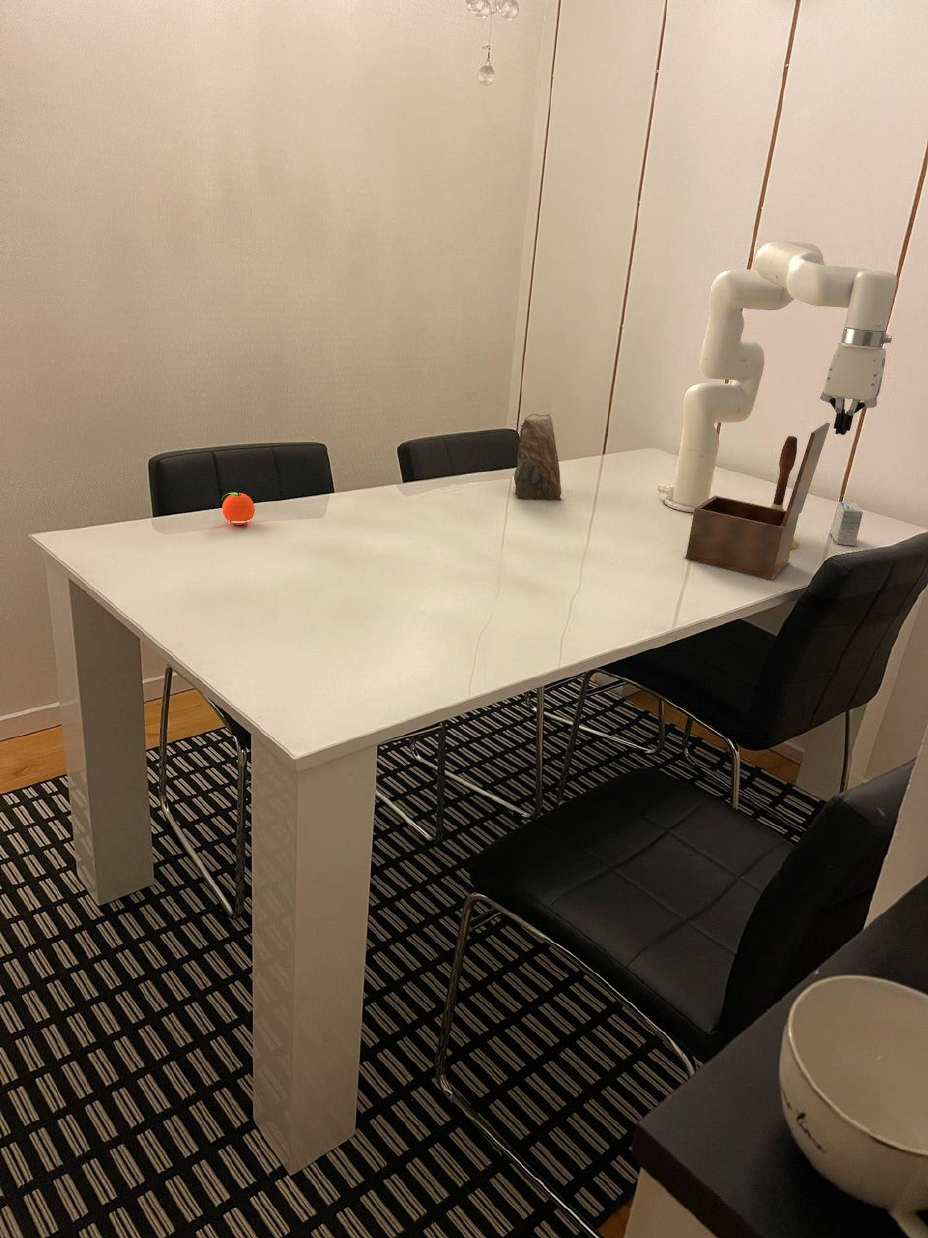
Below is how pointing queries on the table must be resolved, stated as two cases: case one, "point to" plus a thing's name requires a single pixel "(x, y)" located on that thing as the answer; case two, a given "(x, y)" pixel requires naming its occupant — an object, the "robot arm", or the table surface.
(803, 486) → the lid
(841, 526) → the medicine box
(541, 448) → the brown rock
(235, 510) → the clementine
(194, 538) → the table surface
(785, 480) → the handbell
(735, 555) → the chest
